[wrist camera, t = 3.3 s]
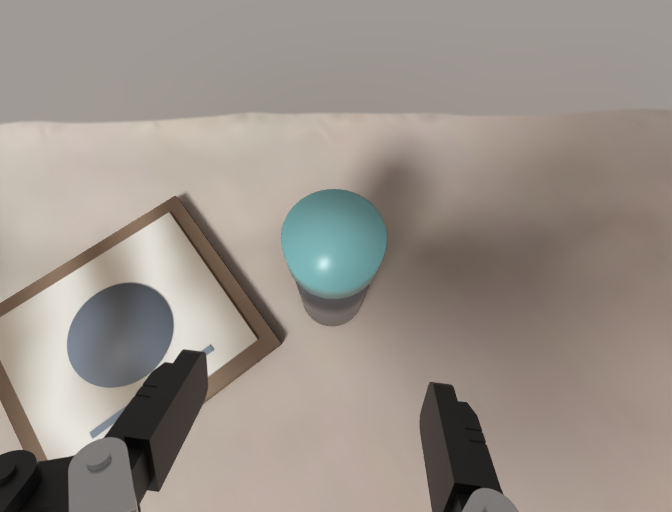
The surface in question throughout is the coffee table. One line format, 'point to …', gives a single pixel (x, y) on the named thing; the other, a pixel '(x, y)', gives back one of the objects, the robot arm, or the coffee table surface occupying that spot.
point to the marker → (333, 252)
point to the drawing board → (121, 330)
